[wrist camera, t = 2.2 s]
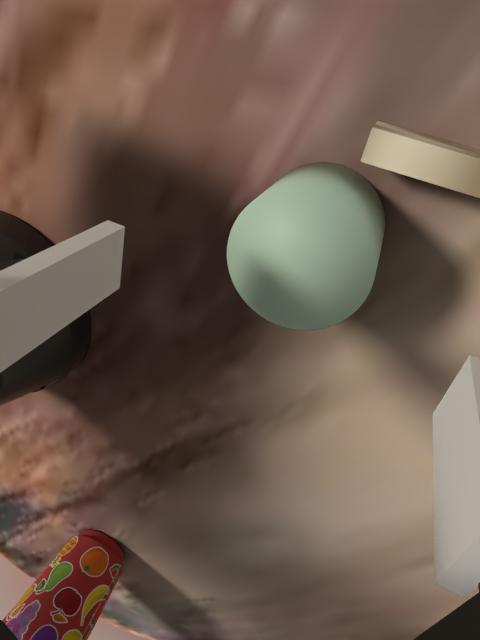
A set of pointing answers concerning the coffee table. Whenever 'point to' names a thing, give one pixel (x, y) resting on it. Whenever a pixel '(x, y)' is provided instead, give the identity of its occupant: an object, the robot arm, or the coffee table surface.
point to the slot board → (424, 158)
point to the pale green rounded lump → (308, 247)
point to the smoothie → (69, 591)
